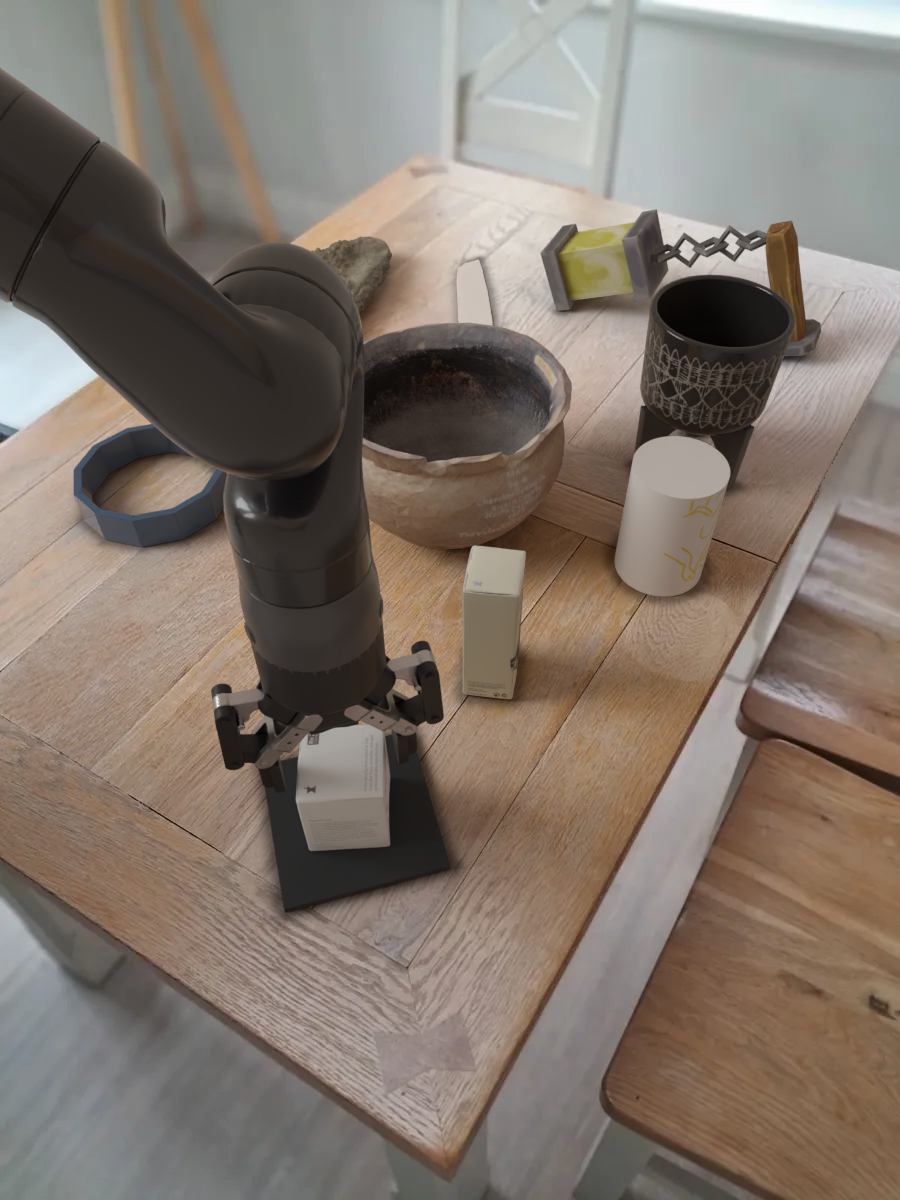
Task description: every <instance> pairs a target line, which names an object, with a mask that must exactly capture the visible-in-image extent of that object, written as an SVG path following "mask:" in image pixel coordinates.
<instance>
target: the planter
mask: <svg viewBox="0 0 900 1200" xmlns="http://www.w3.org/2000/svg"><path fill="white" fill-rule="evenodd" d="M648 315H649V316H648V322H647V329H646V339H645V347H644V353H643V362H642V370H641V377H640V387H639V390H640V396H641V399H642V402H643V404H644V405H640V408H639V415H638V423H637V430H636V438H635V444H634V453H633V455H634V454H635V452H636V451H637V450H638V448H639V447H640V446H642V445H643V444H644V443H646V442H648V441H650V440H653V439H656V438H660V437H666V436H671V434H672V433H674V432H675V431H681V432H684V433H685V435H686V436H690V437H696V438H698V436H709V437H710V439H711V441H712V443H713V445H714V448H715V449H717V450H718V451H719V452H720V453H721V454H722V455H723V456H724V457H725V458H726V460H727V462H728V464H729V467H730V478H729V481H728V485H727V488H726V491H728V490H730V489H731V488H732V487H733V486H735V482H736V480H737V477H738V474H739V472H740V468H741V467H742V463H743V461H744V458H745V455H746V452H747V449H748V447H749V445H750V442H751V439H752V436H753V433H754V431H755V428H756V427H755V426H754V425H753V424H754V423H755V422H756V421H757V420H758V419H759V418H760V417H761V416H762V414H763V413H764V411H765V409H766V406H767V403H768V401H769V397H770V395H771V393H772V390H773V387H774V384H775V382H776V379H777V376H778V374H779V371H780V369H781V366H782V363H783V361H784V357H785V356H784V355H785V353H786V350H787V347H788V345H789V342H790V339H791V337H792V334H793V331H794V328H795V325H796V317H795V314H794V311H793V309H792V308H791V306H790V304H789V303H788V302H787V301H786V300H785V299H784V298H783V297H782V296H780V295H779V294H778V293H776V292H775V291H773V290H771V289H770V287H767V286H765V285H763V284H761V283H758V282H757V281H753V280H749V279H746V278H743V277H738V276H737V277H736V276H732V275H723V274H698V275H690V276H685V277H681V278H678V279H675V280H672V281H670V282H669V283H666V284H664V285H663V286H662V287H660V288H659V289H658V290H656V292H655V293H654V294H653V296H652V298H651V301H650V307H649V314H648Z"/></svg>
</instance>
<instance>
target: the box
mask: <svg viewBox="0 0 900 1200" xmlns="http://www.w3.org/2000/svg"><path fill="white" fill-rule="evenodd" d="M526 556H527V552H526V550H519V549H511V548H502V547H494V546H493V547H492V546H484V545H474V546H471V548H470V552H469V556H468V560H467V565H466V570H465V574H464V581H463V586H462V596H461V597H462V599H461V600H462V605H461V606H462V613H461V614H462V619H461V621H462V694H463V695H468V696H476V697H484V698H493V699H502V700H512V699H513V698H514V692H515V687H516V681H517V675H518V667H519V666H518V665H519V657H520V656H519V655H520V645H521V644H520V642H521V641H520V640H521V628H522V627H521V625H522V613H523V599H524V598H523V597H524V595H523V594H524V581H525V580H524V577H525V567H526V559H527V558H526Z"/></svg>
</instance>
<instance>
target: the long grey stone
mask: <svg viewBox="0 0 900 1200" xmlns="http://www.w3.org/2000/svg"><path fill="white" fill-rule="evenodd" d="M310 251H311V252H313V253H315V254H317V255H318V256H319V257H321V258H322V259H324V260H325V261H326V262H327V263H328V264H329V265H331V266H332V267H333V268H334V270H335V271H336V272H337V273H338V274H339V275H340V276H341V278H342V279H343V280H344V282H345V283H346V285H347V287H348V288H349V290H350V292H351V294H352V296H353V298H354V300H355V303H356V306H357V308H358V312H359V315H360V314H361V313H362V312H363V311H364V309H365V308H366V307H368V306H369V305H370V304H371V301H373V300H374V299H375V297H376V294H377V292H378V290H379V287H380V285H381V284H382V283H383V281H384V280H385V275H386V273H387V272H388V271H389V269H390V268H391V265H390V262H391V260H392V258H393V253H392V251H391V249H390V246H389V245H388V244H387V242H386V241H385V240H383V239H381V238H378V237H373V236H370V235H369V236H367V235H366V236H359V237H357V238H354V239H350V240H348V239H343V240H340V239H339V240H337V241H335V242H332V243H330V244H329V246H328V247H325V248H322V249H321V248H320V247H316V248H315V250H310Z"/></svg>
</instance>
